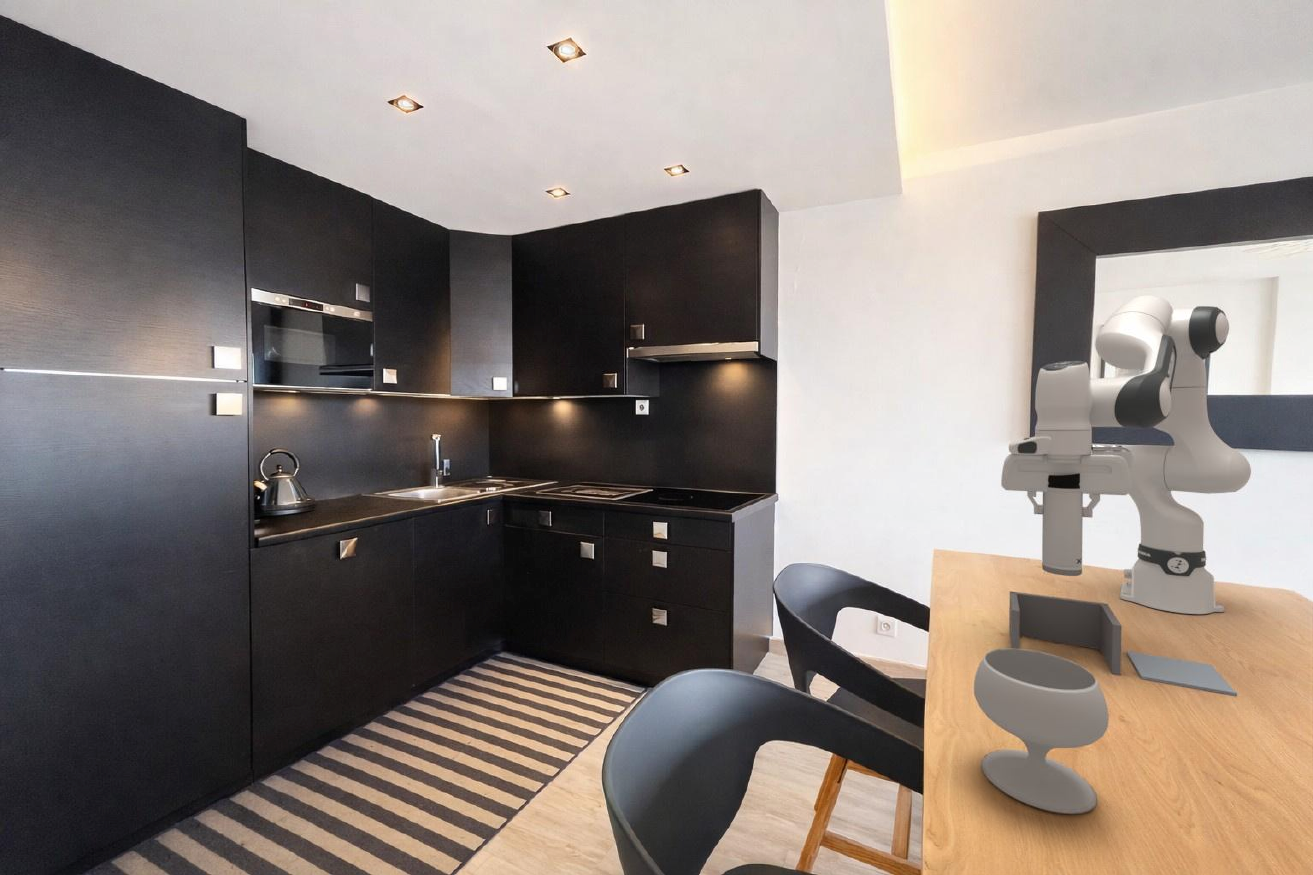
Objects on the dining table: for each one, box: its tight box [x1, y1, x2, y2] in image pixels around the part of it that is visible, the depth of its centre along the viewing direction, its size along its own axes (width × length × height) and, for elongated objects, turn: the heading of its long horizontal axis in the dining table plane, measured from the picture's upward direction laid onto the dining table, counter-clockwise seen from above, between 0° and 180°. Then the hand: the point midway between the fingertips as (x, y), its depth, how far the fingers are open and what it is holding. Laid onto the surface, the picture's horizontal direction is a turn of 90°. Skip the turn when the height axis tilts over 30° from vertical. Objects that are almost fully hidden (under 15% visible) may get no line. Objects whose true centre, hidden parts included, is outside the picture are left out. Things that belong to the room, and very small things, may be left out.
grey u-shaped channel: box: [1008, 590, 1123, 676], centre depth 107 cm, size 13×16×9 cm
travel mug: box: [1041, 473, 1084, 577], centre depth 106 cm, size 6×7×20 cm
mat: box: [1126, 650, 1238, 697], centre depth 98 cm, size 12×12×1 cm
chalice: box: [973, 647, 1110, 815], centre depth 69 cm, size 14×14×15 cm
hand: (1062, 515), depth 106 cm, fingers closed on travel mug, 6 cm apart
